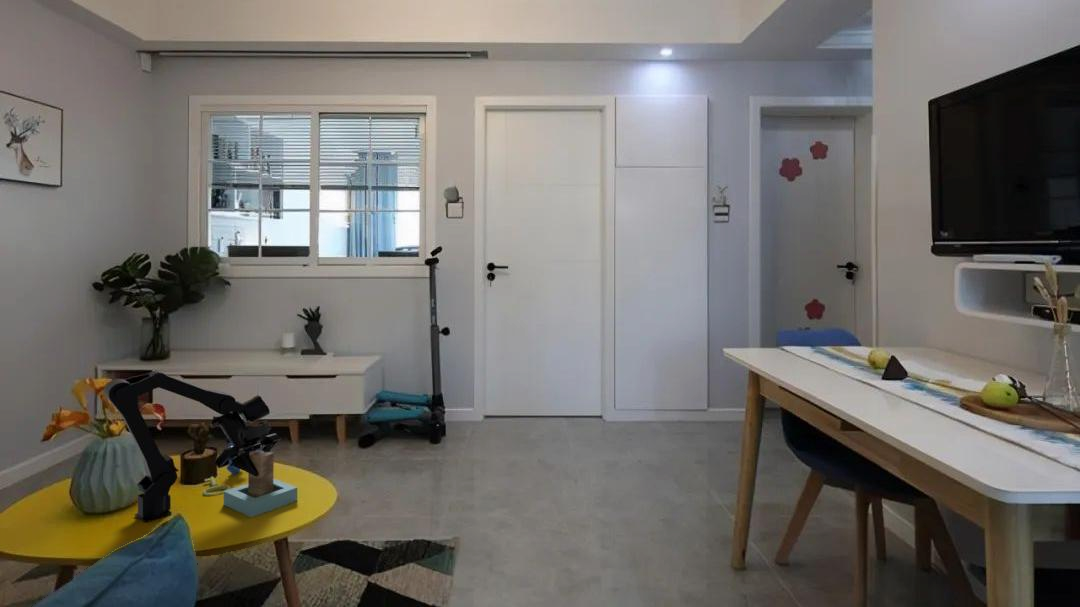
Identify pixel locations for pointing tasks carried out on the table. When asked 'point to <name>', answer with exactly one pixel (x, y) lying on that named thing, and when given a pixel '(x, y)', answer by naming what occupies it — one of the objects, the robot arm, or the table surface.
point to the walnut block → (261, 474)
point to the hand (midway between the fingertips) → (264, 473)
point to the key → (214, 487)
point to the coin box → (260, 498)
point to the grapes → (233, 469)
